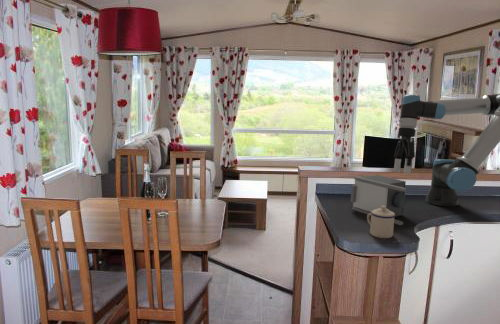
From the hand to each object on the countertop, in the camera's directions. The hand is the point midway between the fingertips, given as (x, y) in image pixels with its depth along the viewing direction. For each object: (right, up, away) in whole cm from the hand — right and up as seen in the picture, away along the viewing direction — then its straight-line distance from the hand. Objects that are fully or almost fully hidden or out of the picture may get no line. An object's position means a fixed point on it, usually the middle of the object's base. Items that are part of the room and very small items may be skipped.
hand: (401, 172), depth 188 cm
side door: (-17, -18, -4) cm, 25 cm away
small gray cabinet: (-9, -19, -4) cm, 22 cm away
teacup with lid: (-20, -24, -29) cm, 43 cm away
